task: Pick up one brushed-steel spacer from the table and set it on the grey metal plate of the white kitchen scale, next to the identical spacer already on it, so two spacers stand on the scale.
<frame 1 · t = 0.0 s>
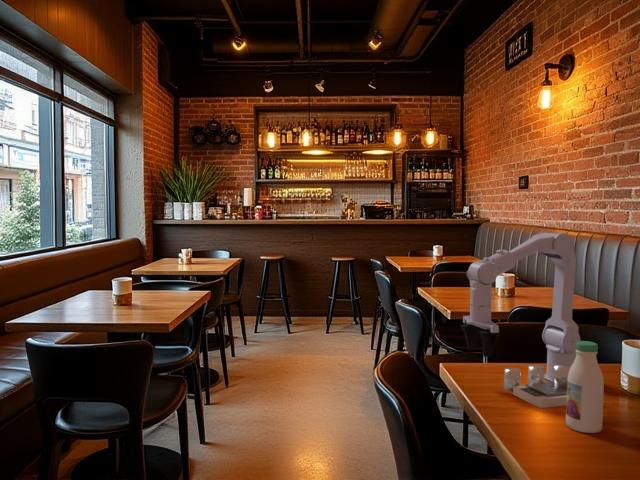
hand: (479, 352, 160), 10 cm above the table, tool pointing down, fingers open, 7 cm apart
milk bottle: (583, 428, 132), on the table
spacer 2: (512, 388, 160), on the table
grey metal plate: (552, 388, 152), point 3 cm above the table, slide at -0.3 cm, touching spacer 1
scale: (548, 398, 152), on the table
spacer 1: (561, 386, 153), point 3 cm above the table, touching grey metal plate
spacer 3: (535, 385, 163), on the table
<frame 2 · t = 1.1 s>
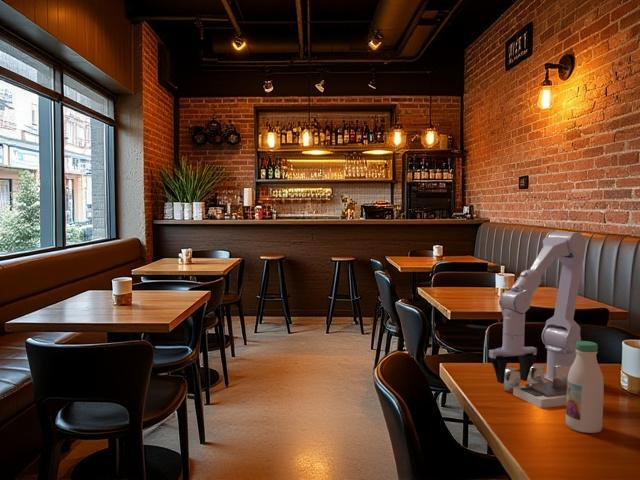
hand: (512, 381, 160), 2 cm above the table, tool pointing down, fingers open, 7 cm apart
nothing on the table moved.
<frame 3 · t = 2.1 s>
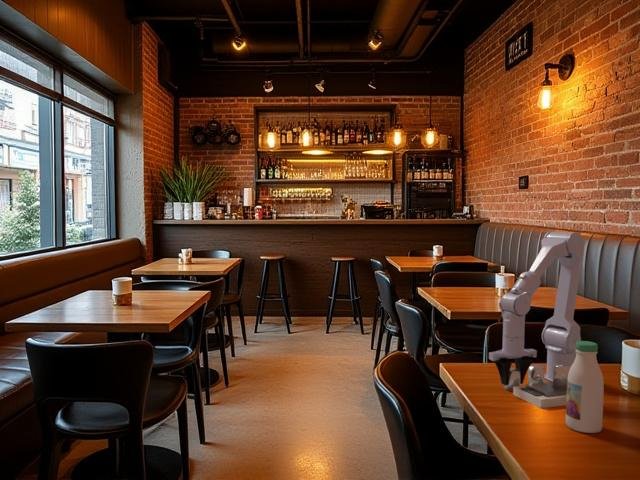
hand: (512, 383, 160), 1 cm above the table, tool pointing down, fingers closed on spacer 2, 4 cm apart
spacer 2: (512, 388, 160), on the table, touching gripper
everything else where it was.
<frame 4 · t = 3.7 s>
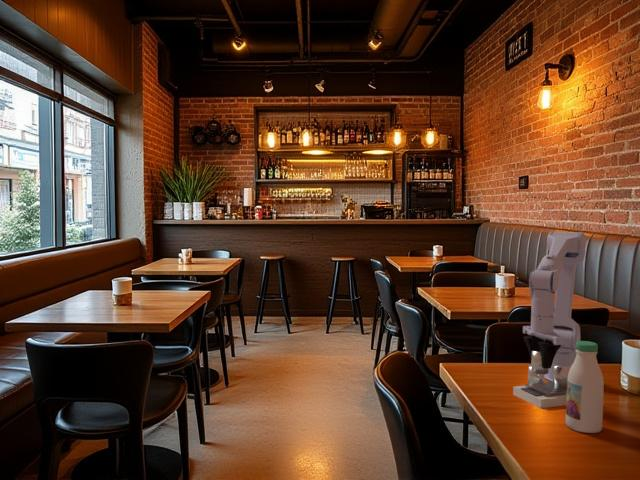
hand: (540, 365, 152), 9 cm above the table, tool pointing down, fingers closed on spacer 2, 4 cm apart
spacer 2: (539, 371, 152), point 7 cm above the table, touching gripper
everything else where it was.
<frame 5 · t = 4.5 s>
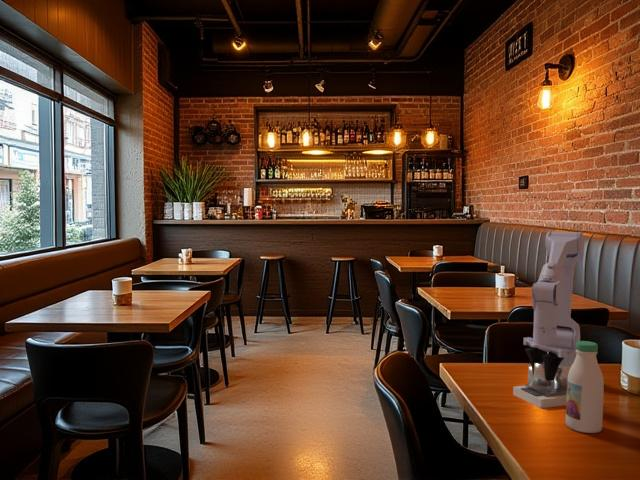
hand: (543, 377, 151), 6 cm above the table, tool pointing down, fingers closed on spacer 2, 4 cm apart
spacer 2: (542, 383, 151), point 4 cm above the table, touching gripper
everything else where it was.
when the fingers open (6 cm above the table, at t = 5.2 s): spacer 2 drops 1 cm, resting on grey metal plate.
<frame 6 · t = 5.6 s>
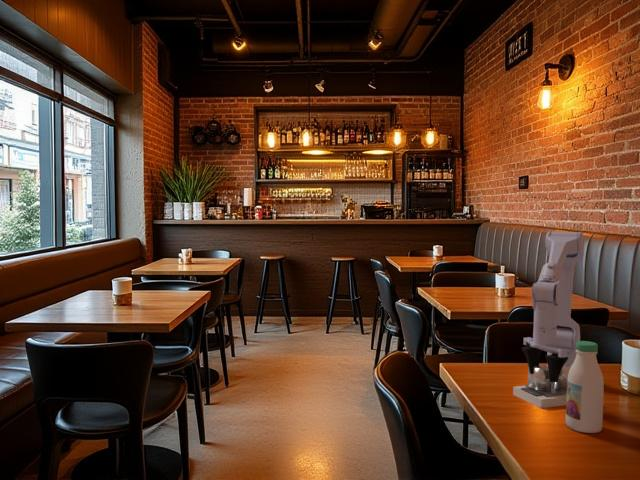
hand: (543, 377, 151), 6 cm above the table, tool pointing down, fingers open, 7 cm apart
spacer 2: (542, 388, 151), point 3 cm above the table, touching grey metal plate
grey metal plate: (552, 388, 152), point 3 cm above the table, slide at -0.4 cm, touching spacer 1, spacer 2
everything else where it was.
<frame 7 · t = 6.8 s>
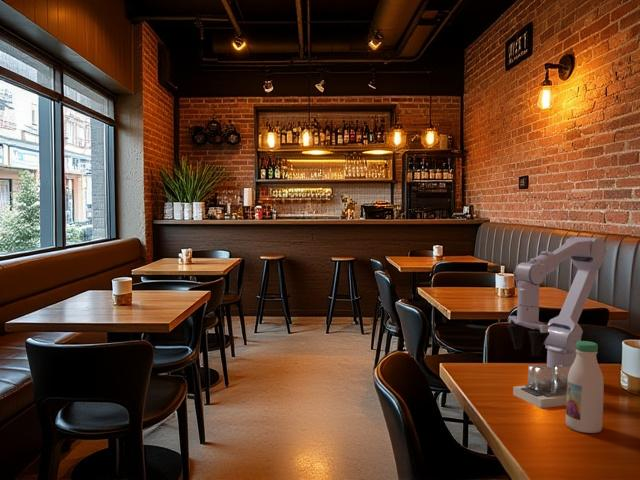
hand: (526, 352, 162), 10 cm above the table, tool pointing down, fingers open, 7 cm apart
nothing on the table moved.
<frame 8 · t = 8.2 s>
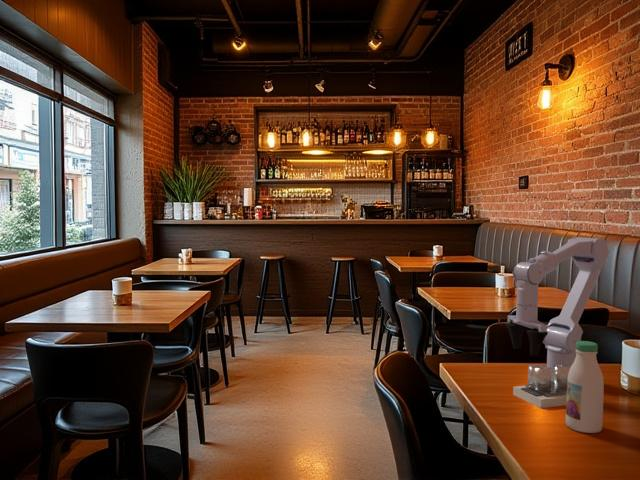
hand: (525, 351, 162), 10 cm above the table, tool pointing down, fingers open, 7 cm apart
nothing on the table moved.
at the end: spacer 2 0.3 cm from the target spot, point 3.0 cm above the table; spacer 2 tilted 2°; spacer 1 0.2 cm from the target spot, point 3.0 cm above the table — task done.
